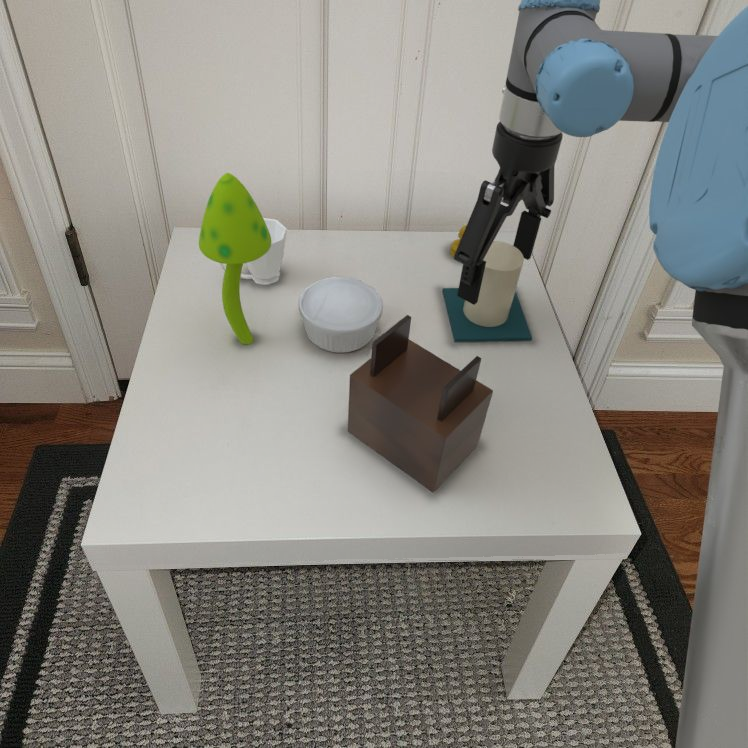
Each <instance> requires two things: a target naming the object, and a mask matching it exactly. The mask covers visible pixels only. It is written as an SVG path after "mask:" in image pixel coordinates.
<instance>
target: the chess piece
mask: <svg viewBox="0 0 748 748" xmlns="http://www.w3.org/2000/svg"><path fill="white" fill-rule="evenodd" d="M466 226H467V225H463V226H461V228H459V233H458V234H457V235H458V236H457V237H458V238H459V239H456V240H454V241H452V243H451V244H450V245H451V246H450V251H449V252H450V255H451V257H453V258H454V255H455V252H456V250H457V248H458V245H459V243H460V240H461V238H462V236H463V233H464V231H465V228H466Z"/></svg>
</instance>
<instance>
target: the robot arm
mask: <svg viewBox="0 0 748 748" xmlns="http://www.w3.org/2000/svg"><path fill="white" fill-rule="evenodd" d="M600 4H601V0H521V1H520V4H519V5H518V7H517V11H518V16H517V22H516V27H515V31H514V32H515V33H514V37H513V42H512V47H511V53H510V58H509V64H508V69H507V74H506V78H505V85H504V86H503V87H502V88H501V92H502V94H503V96H502V99H501V100H502V101H501V105H500V111H499V116H498V119H499V122H498V123H497V125H496V128H495V133H494V139H493V142H492V148H491V152H492V156H493V158H494V160H495V161H496V162H497V164H498V166H499V170H498V172H497V174H496V176H495V178H494V181H493V182H491V181H489V180H487V179H486V180H483V181H482V182H481V185H480V187H479V191H478V196H477V199H476V202H475V204H474V206H473V209H472V212H471V214H470V217H469V218H468V220H467V224H466V225H465V226H466V228H465V231H464V233H463V236H462V238H461V240H460V243H459V245H458V248H457V250H456V252H455V255H454V257H453V260H455V261H456V262H458V263H460V264H462V268H461V273H460V278H459V283H458V288H459V289H458V294H457V296H458V297H460V298H462V299H464V300H466V301H468V302H469V303H471V304H473V305H475V304H476V303H477V302H478V297H479V293H480V288H481V283H482V279H483V274H484V270H485V265H486V261H484V260H483V259H484V257H485V256H486V254H487V252H488V250H489V248H490V246H491V245H492V243H493V241H495V239H496V237H497V235H498V233H499V232H500V229H501V228H502V226H503V224H504V223H505V221H506V219H507V218H508V217H511V216H512V215H513V214H514V212H515V210H516V209H517V207H518V205H519V203H521V201H522V202H523V205H524V207H525V209H526V210H523V211H521V213H520V217H519V221H518V225H517V229H516V232H515V233H516V234H515V237H514V242H513V244H512V245H513V246H515V247H516V248H517V249H519V250H520V251H521V253H522V254H523V257H524V260H527V261H528V260H529V261H530V259H531V258H532V255H533V251H534V248H535V243H536V240H537V237H538V233H539V229H540V225H541V222H542V217H543V218H545V219H548V218H549V217H550V215H551V213H552V209H550V208H547V207H552V205H554V201H555V165H556V162H557V160H558V159H557V158H558V155H559V151H560V147H561V144H562V141H563V134H565V135H568V136H570V137H576V138H589V137H592V136H595V135H598V134H600V133H602V132H605V131H608V130H609V129H611V128H613V127H614V126H615V125H617V123H618V122H620V121H621V122H643V123H645V122H646V123H648V122H649V123H655V122H658V123H660V122H661V123H667V125H666V128H665V131H664V134H663V137H662V140H661V143H660V146H659V148H658V149H659V150H658V153H657V157H656V162H655V166H654V170H653V175H652V180H651V187H650V197H649V207H648V208H649V209H648V216H649V229H650V231H651V232H652V233H653V234H654V235H655V238H654V240H653V246H652V249H653V252H654V254H655V257H656V259H657V261H658V262H659V264H660V266H661V267H662V269H663V270H664V272H665V273H667V274H668V275H669V276H670V277H671V278H672V279H674V280H675V281H678V282H679V283H681V284H683V285H684V286H686V287H687V288H690V289H692V290H695V291H694V299H693V300H694V301H693V308H692V318H691V326H692V328H693V329H694V330H695V332H697V333H698V335H700V337H701V338H702V339H703V340H704V341H705V342H706V343H707V344H708V346H709V347H710V349H712V350H713V352H715V354H716V355H717V356H718V357H719V360H720V362H721V364H722V365H723V370H722V376H721V385H720V392H719V401H718V409H717V417H716V425H715V433H714V438H713V439H714V440H713V446H712V447H713V448H712V455H711V463H710V472H709V479H708V487H707V496H706V504H705V510H704V511H705V512H704V518H703V519H704V520H703V527H702V535H701V542H700V549H699V559H698V567H697V573H696V581H695V588H694V597H693V605H692V613H691V621H690V628H689V629H690V630H689V637H688V645H687V653H686V661H685V669H684V675H683V684H682V693H681V699H680V706H679V707H680V708H679V715H678V723H677V729H676V730H677V731H676V739H675V740H676V741H675V747H674V748H748V5H747V6H746V7H744V8H743V9H742V10H741V11H740V12H739V13H738V14H737V15H735V17H733V18H732V19H731V21H730V22H728V24H727V25H726V26H725V27H724V28H723V29H722V31H721V32H720V33H719V34H718V35H707V34H672V33H661V32H647V31H646V32H644V31H643V32H642V31H627V30H626V31H625V30H606V29H601V27H600V26H599V25H598V24H597V22H596V18H597V15H598V13H600V10H601V6H600ZM502 203H503V204H502ZM504 204H506V205H504Z"/></svg>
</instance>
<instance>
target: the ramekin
mask: <svg viewBox="0 0 748 748" xmlns="http://www.w3.org/2000/svg"><path fill="white" fill-rule="evenodd" d="M297 306H298V312H299V315H300V318H301V319H302V323H303V327H304V330H305V333H306V336H307V337H308V338H309V340H310V341H311V342H312V343H313V344H314V345H316V347H318V348H320V349H322V350H324V351H326V352H327V351H328V352H331V353H341V354H343V353H350V352H354V351H357V350H359V349H361V348H364V346H367V344H369V343H370V341H372V339H373V337H374V336H375V333H376V330H377V327H378V324H379V321H380V320H381V318H382V315H383V310H384V303H383V300H382V296H381V295H380V293H379V292H378V290H376V289H375V288H374V287H373V286H371V285H370V284H369V283H366V282H365V281H362V280H361V279H356V278H354V277H353V278H352V277H346V276H331V277H326V278H322V279H320V280H316V281H315V282H313V283H311V284H310V285H308V286H307V287H306V288H304V289H303V291H302V292H301V293H300V296H299V298H298V305H297Z"/></svg>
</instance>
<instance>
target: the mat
mask: <svg viewBox="0 0 748 748" xmlns="http://www.w3.org/2000/svg"><path fill="white" fill-rule="evenodd" d="M458 289H459V287H442V290H441V292H442V297H443V300H444V304H445V308H446V309H445V310H446V312H447V317H448V321H449V325H450V329H451V333H452V337H453V342H454V343H479V342H481V343H483V342H525V341H528V342H530V341H532V340H533V336H532V333H531V331H530V328H529V325H528V322H527V320H526V316H525V314H524V311H523V308H522V306H521V303H520V300H519V297H518V294H517V291H515V294H514V298H513V302H512V305H511V309H510V312H509V316H508V319H507V320H506V321H505V322H504V323H503V324H501V325H499V326H495V327H484V326H480V325H477V324H475V323H473V322H471V321H470V320H469V319H468V318H467V317H466V316H465V314H464V312H463V306H464V301H465V300H464V299H462V298H460V297H458V296H457V294H458Z"/></svg>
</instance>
